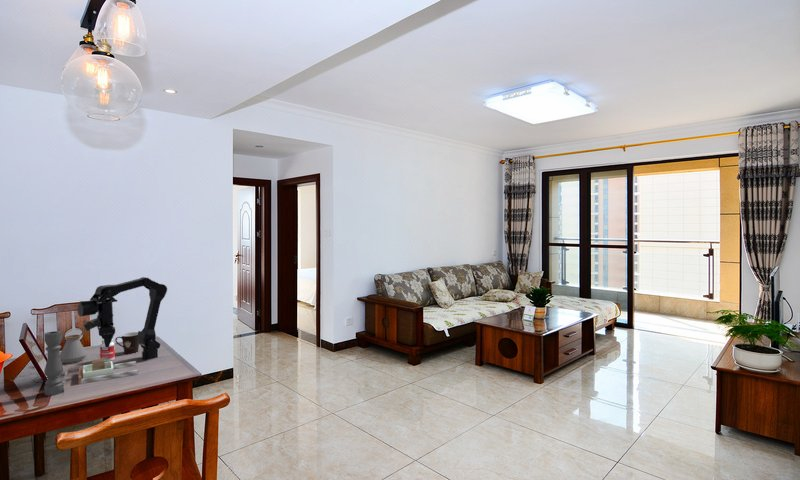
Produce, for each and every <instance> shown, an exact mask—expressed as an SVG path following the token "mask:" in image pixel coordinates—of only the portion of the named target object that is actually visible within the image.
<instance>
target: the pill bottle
mask: <svg viewBox="0 0 800 480" xmlns="http://www.w3.org/2000/svg"><path fill="white" fill-rule="evenodd" d="M113 341H114V337H113V338H112V340H111V343H110V345H109V347H106V346H105V343H104V339H103V338H101V343H100V345H99V359H102V358H104V360H105V362H111V361H114V360H115V357H116V355H115V352H116V351H115V349H116V347H115V346H116V345H115V344H116V343H115V341H114V342H113Z"/></svg>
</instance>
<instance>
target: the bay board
mask: <svg viewBox="0 0 800 480" xmlns="http://www.w3.org/2000/svg"><path fill="white" fill-rule="evenodd" d="M134 366H135V367H136V366H137V360H134V361H128V362H121V363H115V364H114V363H113V369H114V370H115V369H120V368H121V369H122V368H128V367H129V368H130V367H134ZM139 372H140V370H139V369H134V370H128V371H121V372H116V373H115V372H114V374H109V375H103V376H96V377H90V378H84V379H83V366H81V367H79V368H78V385H82V384H83V385H84V384H89V383H90V384H91V383H96V382H100V381H106V380H112V379H118V378H124V377H125V378H126V377H131V376H136V375H139V374H140V373H139Z"/></svg>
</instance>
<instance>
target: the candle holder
mask: <svg viewBox="0 0 800 480" xmlns="http://www.w3.org/2000/svg"><path fill="white" fill-rule="evenodd" d="M43 336H44V337H43V338H44V343H45V344H46V347H45V351H46V352H47V359H46V363H45V366H44V367H45V368H44V371H43V373H44V375H45V376H46V378H47V379H46V381H45V382H44V389H43V390H44V396H46V395H47V396H48V397H50V396H57V395H60V394H62V393H64V391H65V390H64V382H63V381H64V380H63V378H62V377H61V376H62V375H61V374H62V373H63V371H64V366H63V362H61V359H60V353H61V351H60V350H61V349H62V347H63V346H62V345H60V344H61V343H62V341H63V331H62V330H56V331H55V330H54V331H48V332H45V333H44V335H43ZM47 396H46V397H47Z"/></svg>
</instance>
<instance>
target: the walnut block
mask: <svg viewBox="0 0 800 480" xmlns="http://www.w3.org/2000/svg"><path fill="white" fill-rule="evenodd" d="M91 364H92V371H96V370H102V369H105V360H104V358H102V359H100V358H96V359H92V360H91Z"/></svg>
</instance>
